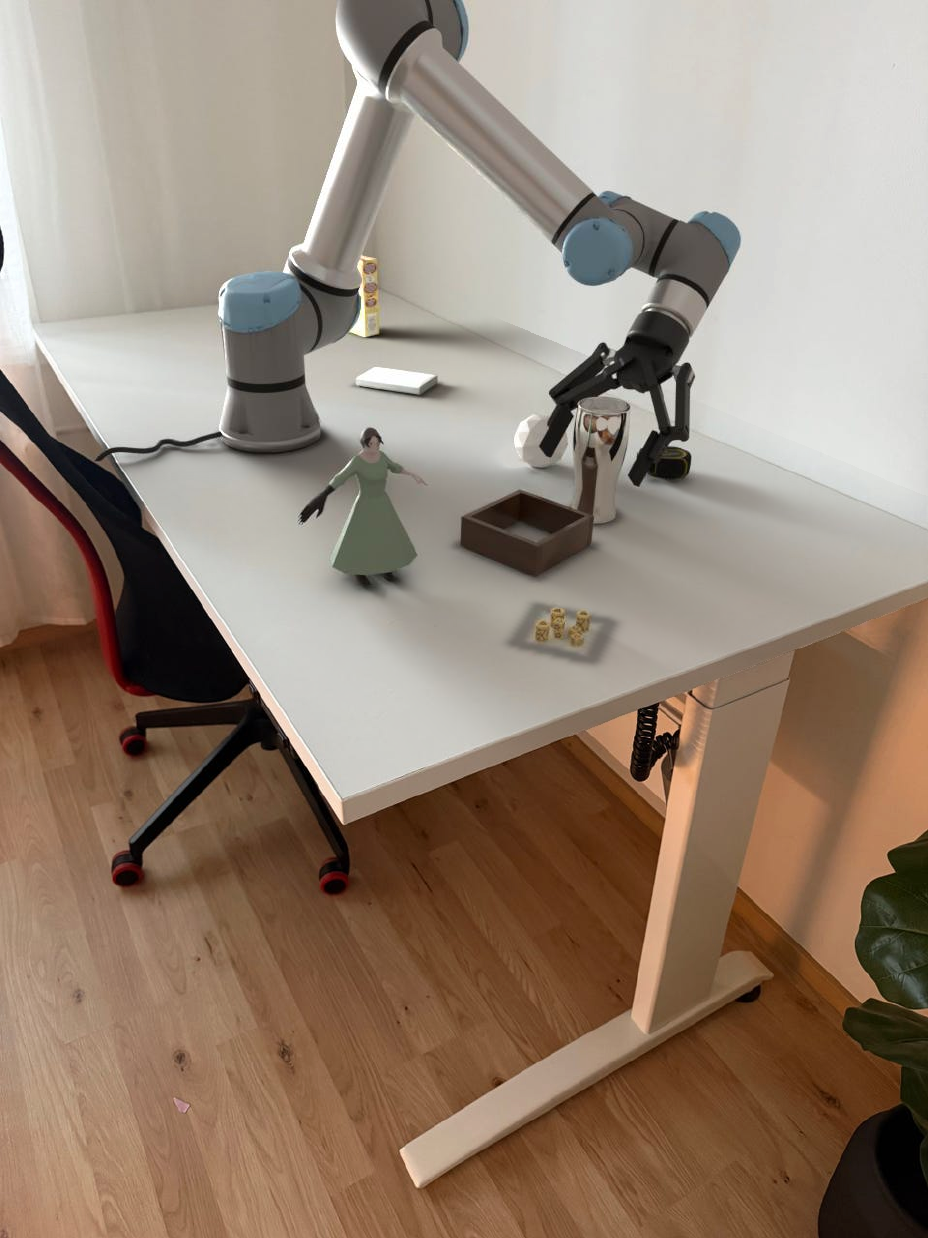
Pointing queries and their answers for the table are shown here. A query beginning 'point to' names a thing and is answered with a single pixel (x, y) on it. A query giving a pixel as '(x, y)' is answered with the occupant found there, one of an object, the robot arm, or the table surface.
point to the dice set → (563, 627)
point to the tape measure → (671, 464)
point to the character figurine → (368, 516)
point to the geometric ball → (537, 441)
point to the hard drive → (397, 380)
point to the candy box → (368, 298)
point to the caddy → (518, 552)
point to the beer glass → (599, 454)
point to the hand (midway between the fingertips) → (587, 466)
